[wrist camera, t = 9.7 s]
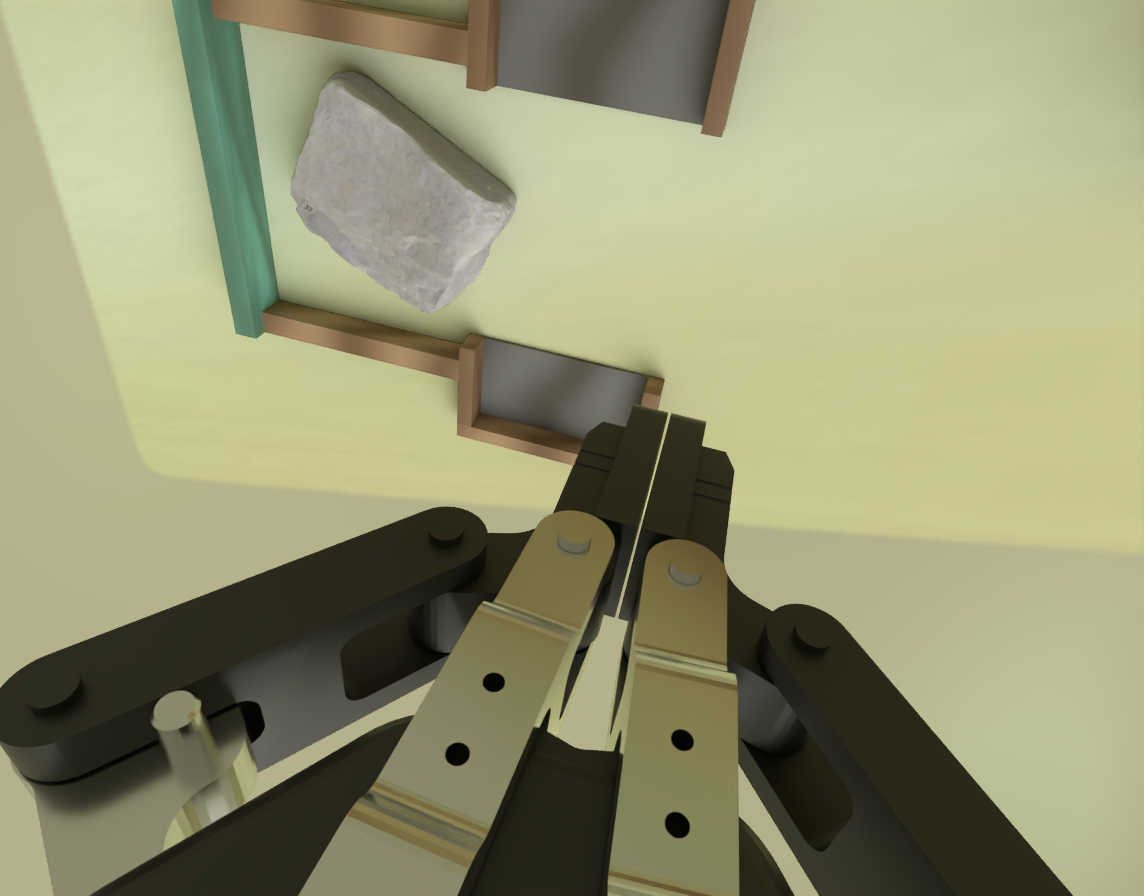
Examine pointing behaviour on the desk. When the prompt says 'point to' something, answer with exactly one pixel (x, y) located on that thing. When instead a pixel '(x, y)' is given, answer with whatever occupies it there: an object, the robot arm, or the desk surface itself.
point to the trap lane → (493, 58)
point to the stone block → (396, 194)
